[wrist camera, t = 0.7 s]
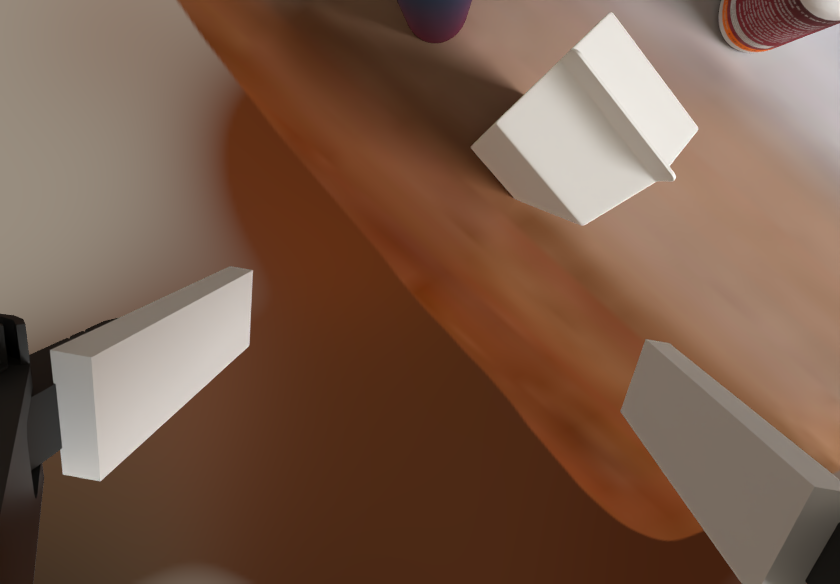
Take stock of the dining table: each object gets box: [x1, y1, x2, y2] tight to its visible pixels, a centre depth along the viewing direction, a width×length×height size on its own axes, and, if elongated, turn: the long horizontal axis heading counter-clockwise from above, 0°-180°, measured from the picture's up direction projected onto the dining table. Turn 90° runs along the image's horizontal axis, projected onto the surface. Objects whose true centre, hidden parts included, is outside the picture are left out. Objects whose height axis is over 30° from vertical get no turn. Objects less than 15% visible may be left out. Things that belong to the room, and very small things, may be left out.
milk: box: [470, 12, 698, 225], centre depth 25 cm, size 6×6×22 cm
